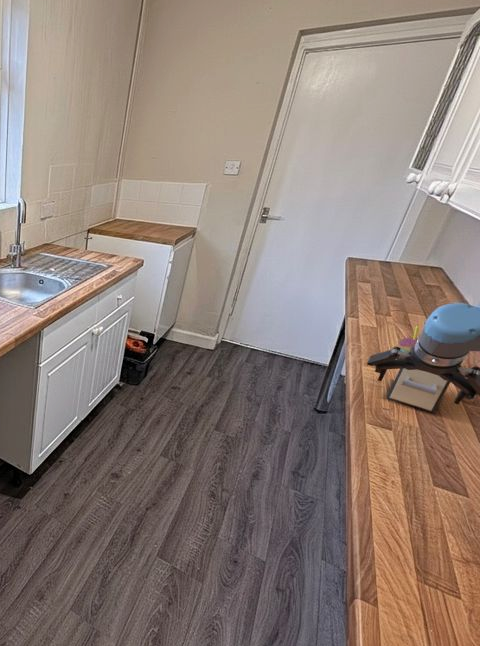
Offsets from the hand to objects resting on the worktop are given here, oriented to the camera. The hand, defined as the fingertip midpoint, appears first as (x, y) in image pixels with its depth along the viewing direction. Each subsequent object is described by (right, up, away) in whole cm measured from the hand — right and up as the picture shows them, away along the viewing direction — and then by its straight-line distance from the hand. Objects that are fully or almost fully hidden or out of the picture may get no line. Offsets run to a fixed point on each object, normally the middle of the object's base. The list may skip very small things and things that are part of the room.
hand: (417, 387), depth 103 cm
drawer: (+7, -4, +8) cm, 12 cm away
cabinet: (+11, -4, +11) cm, 16 cm away
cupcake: (+31, +4, +30) cm, 43 cm away
